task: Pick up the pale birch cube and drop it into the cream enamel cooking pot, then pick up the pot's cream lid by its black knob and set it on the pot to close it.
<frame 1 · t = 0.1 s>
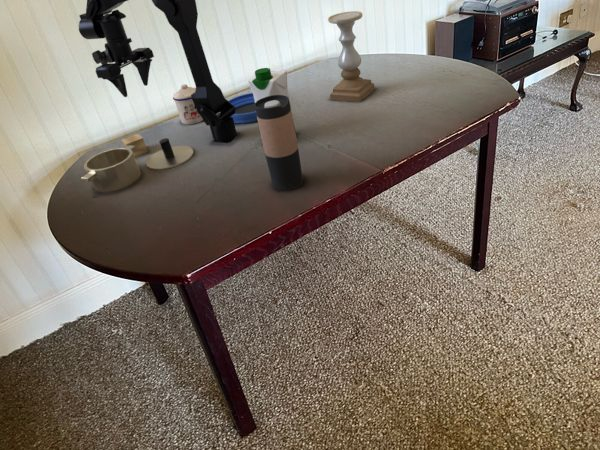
hand: (136, 91, 140), 15 cm above the table, tool pointing down, fingers open, 9 cm apart
bowl: (252, 113, 151), on the table
travel mug: (288, 183, 110), on the table
lid: (170, 158, 130), point 1 cm above the table
pot: (118, 181, 125), on the table
teacup with lid: (198, 118, 155), on the table
candle holder: (352, 95, 150), on the table
cube: (138, 153, 138), on the table
milk carton: (280, 139, 131), on the table
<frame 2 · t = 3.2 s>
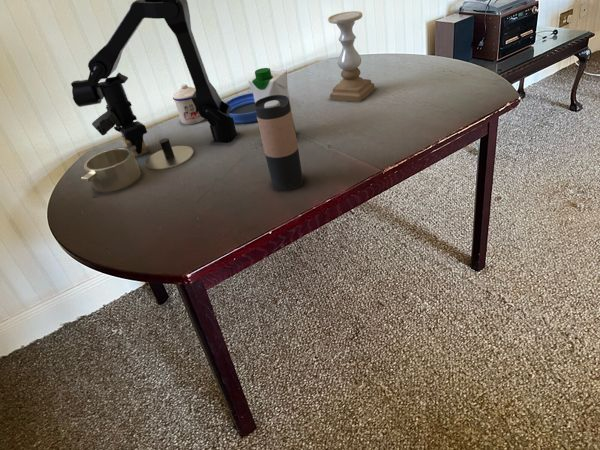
hand: (137, 150, 138), 1 cm above the table, tool pointing down, fingers closed on cube, 5 cm apart
cube: (138, 154, 138), on the table, touching gripper
everything else where it was.
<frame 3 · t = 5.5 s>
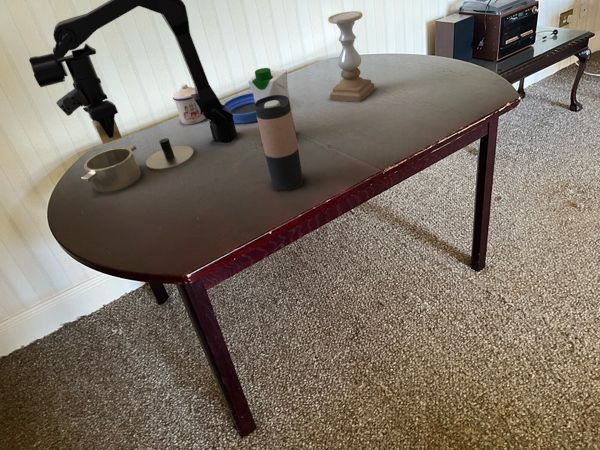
hand: (109, 134, 123), 11 cm above the table, tool pointing down, fingers closed on cube, 5 cm apart
cube: (110, 138, 124), point 10 cm above the table, touching gripper
everything else where it was.
when the fingers open (5 cm above the table, at t = 8.0 s): cube drops 4 cm, resting on pot.
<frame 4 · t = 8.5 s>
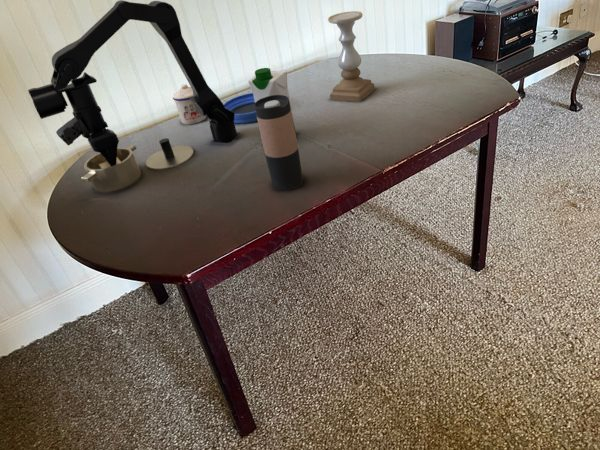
hand: (109, 161, 122), 6 cm above the table, tool pointing down, fingers open, 9 cm apart
cube: (117, 180, 125), resting on pot
everything else where it was.
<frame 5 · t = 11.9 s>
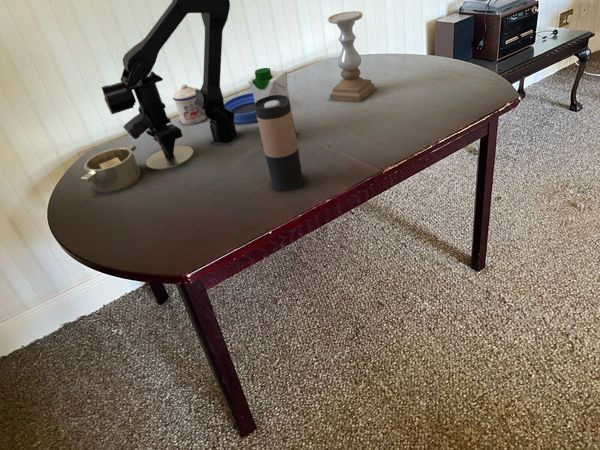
hand: (169, 155, 130), 2 cm above the table, tool pointing down, fingers closed on lid, 3 cm apart
lid: (170, 158, 130), point 1 cm above the table, touching gripper
everything else where it was.
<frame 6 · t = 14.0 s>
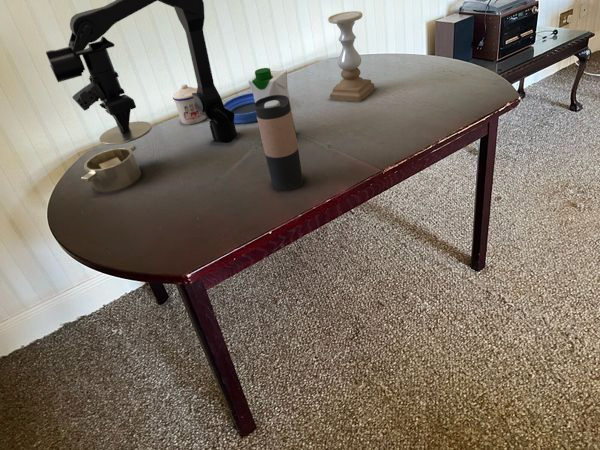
hand: (124, 130, 120), 12 cm above the table, tool pointing down, fingers closed on lid, 3 cm apart
lid: (126, 133, 121), point 11 cm above the table, touching gripper
everything else where it was.
when the fingers open (8 cm above the table, at t = 15.9 s): lid stays where it is, resting on pot.
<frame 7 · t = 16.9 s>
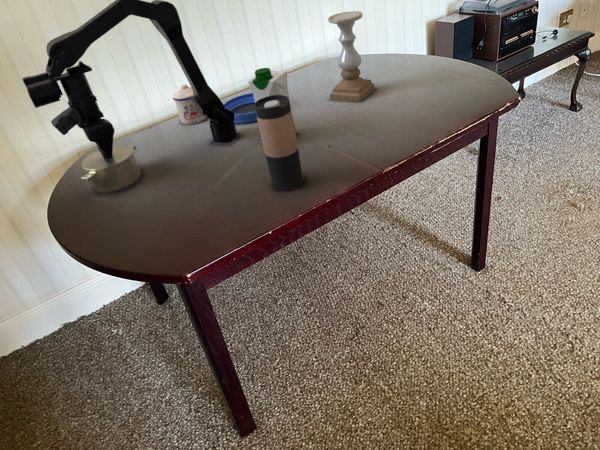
hand: (105, 152, 120), 9 cm above the table, tool pointing down, fingers open, 9 cm apart
lid: (108, 158, 121), point 7 cm above the table, touching pot
everything else where it was.
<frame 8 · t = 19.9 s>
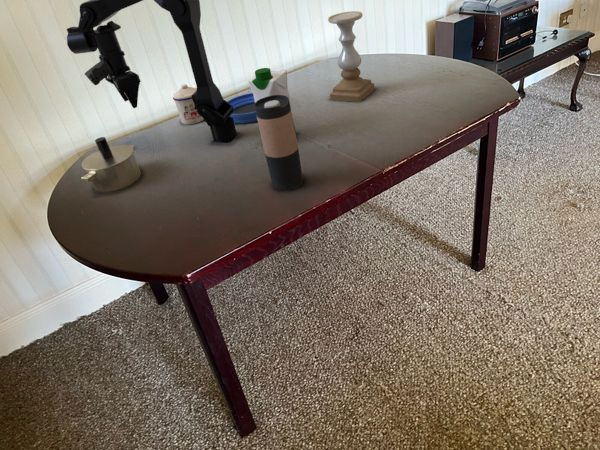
hand: (130, 104, 136), 13 cm above the table, tool pointing down, fingers open, 9 cm apart
nothing on the table moved.
at the end: cube inside the target area in the pot (0.0 cm from its centre), point 0.4 cm above the pot's base; lid 0.0 cm off-centre on the pot, point 6.9 cm above the pot's base; lid tilted 0° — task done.
